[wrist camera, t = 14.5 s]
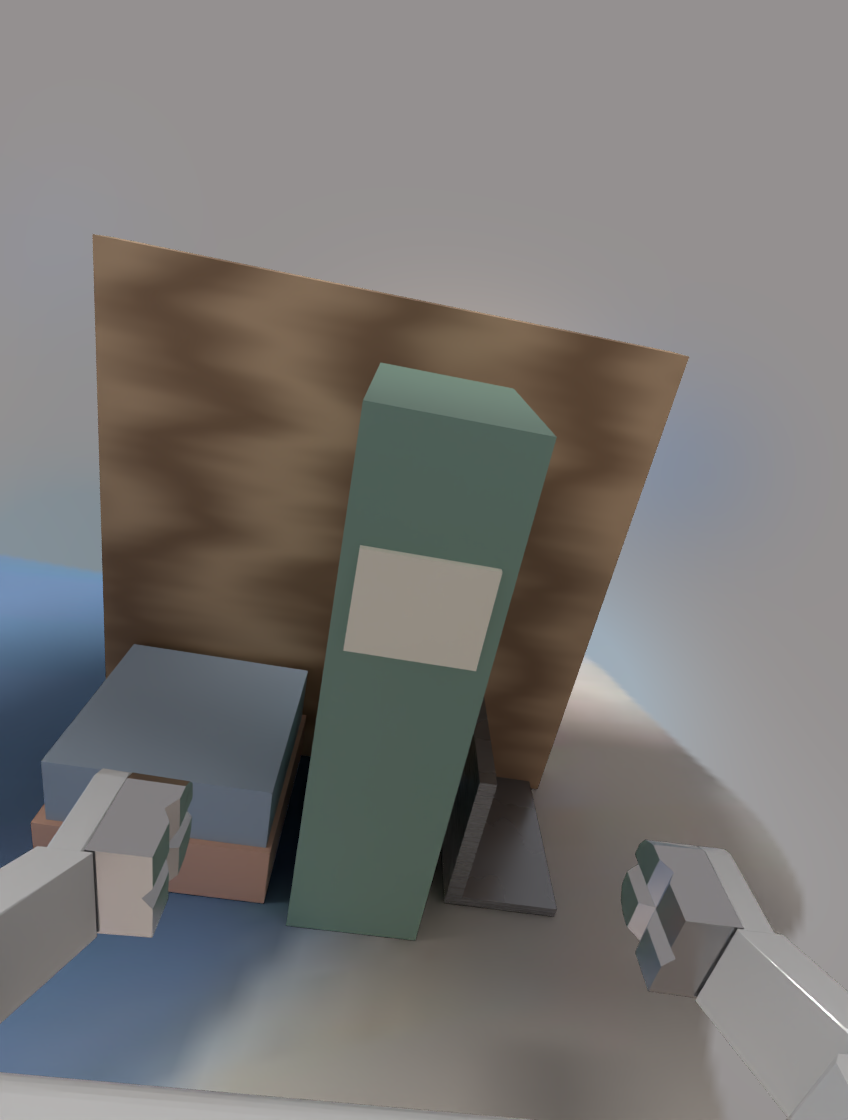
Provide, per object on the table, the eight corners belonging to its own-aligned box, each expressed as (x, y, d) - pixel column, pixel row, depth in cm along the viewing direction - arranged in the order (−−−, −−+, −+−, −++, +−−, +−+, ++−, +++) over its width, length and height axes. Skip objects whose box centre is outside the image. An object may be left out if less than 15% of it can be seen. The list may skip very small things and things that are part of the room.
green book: (285, 931, 21) (362, 401, 14) (316, 775, 27) (380, 362, 20) (415, 946, 21) (558, 438, 14) (416, 789, 28) (513, 388, 20)
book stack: (36, 875, 21) (24, 764, 19) (128, 733, 27) (126, 640, 25) (263, 903, 22) (276, 798, 20) (300, 758, 28) (313, 668, 26)
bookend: (444, 902, 23) (479, 782, 20) (439, 775, 29) (466, 670, 26) (553, 916, 23) (602, 799, 21) (527, 787, 29) (562, 685, 27)
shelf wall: (107, 727, 28) (92, 234, 19) (122, 706, 29) (114, 237, 21) (537, 789, 29) (688, 356, 21) (532, 766, 31) (672, 352, 22)
